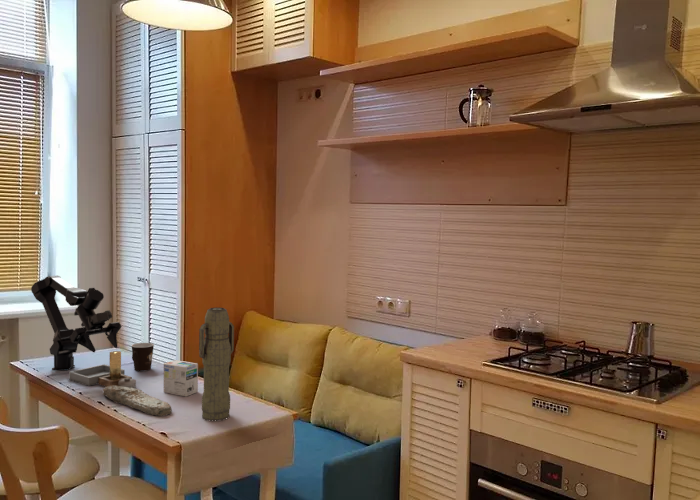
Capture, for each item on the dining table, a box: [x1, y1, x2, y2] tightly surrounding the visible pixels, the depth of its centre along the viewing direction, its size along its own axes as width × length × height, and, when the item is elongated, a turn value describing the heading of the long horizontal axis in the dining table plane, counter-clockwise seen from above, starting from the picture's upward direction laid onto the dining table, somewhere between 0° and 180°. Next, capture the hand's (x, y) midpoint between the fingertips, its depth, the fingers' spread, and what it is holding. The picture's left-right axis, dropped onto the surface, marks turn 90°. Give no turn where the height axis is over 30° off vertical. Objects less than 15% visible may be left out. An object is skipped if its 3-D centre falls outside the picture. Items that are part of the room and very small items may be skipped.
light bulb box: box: [163, 359, 199, 397], centre depth 223 cm, size 11×7×11 cm, turn 65°
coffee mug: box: [131, 342, 155, 372], centre depth 251 cm, size 12×9×10 cm
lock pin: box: [109, 350, 122, 381], centre depth 231 cm, size 4×4×12 cm
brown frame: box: [98, 374, 137, 389], centre depth 230 cm, size 14×8×3 cm, turn 55°
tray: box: [68, 363, 125, 387], centre depth 238 cm, size 13×15×3 cm
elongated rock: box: [102, 385, 173, 417], centre depth 210 cm, size 35×5×10 cm
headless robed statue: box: [198, 307, 235, 422], centre depth 198 cm, size 9×12×35 cm
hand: (105, 349), depth 234 cm, fingers open, 9 cm apart
